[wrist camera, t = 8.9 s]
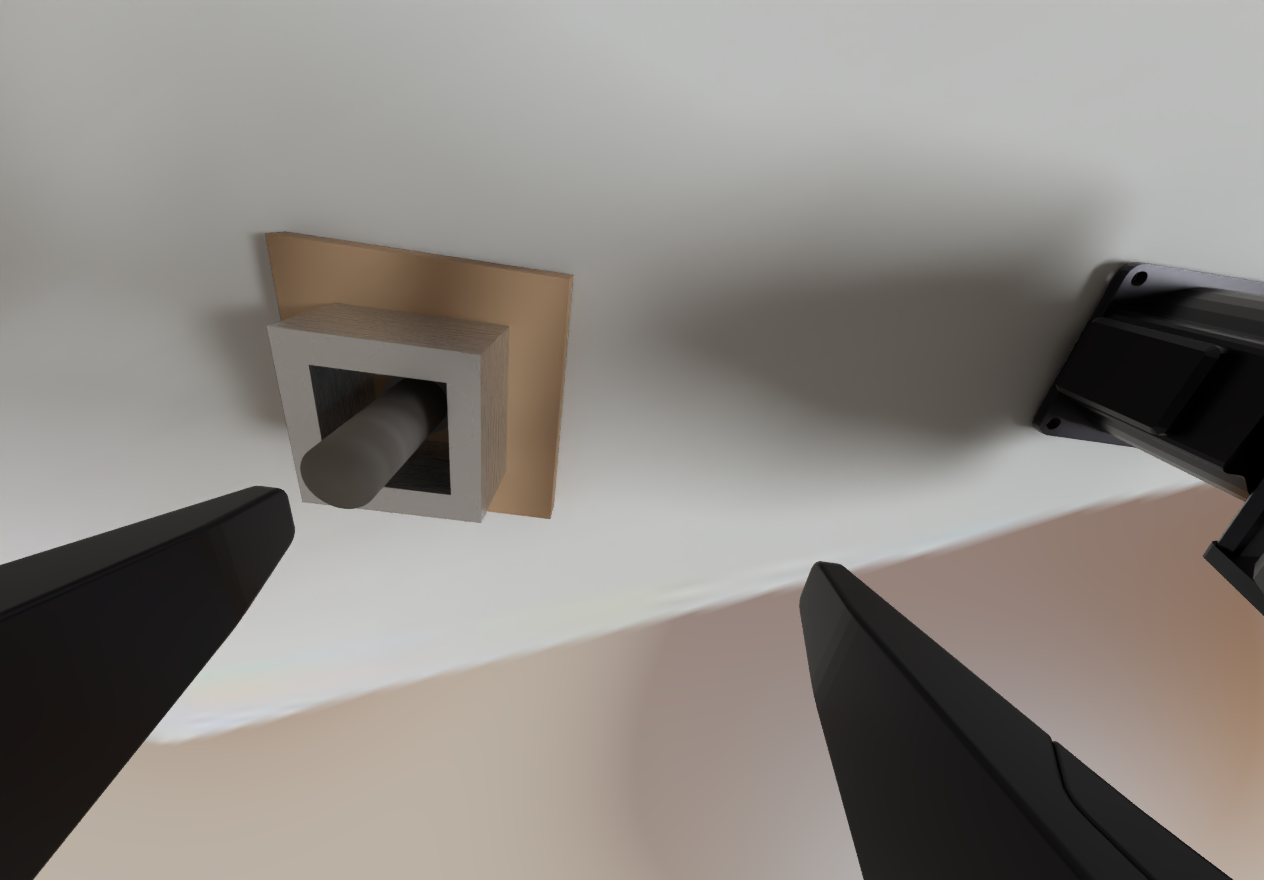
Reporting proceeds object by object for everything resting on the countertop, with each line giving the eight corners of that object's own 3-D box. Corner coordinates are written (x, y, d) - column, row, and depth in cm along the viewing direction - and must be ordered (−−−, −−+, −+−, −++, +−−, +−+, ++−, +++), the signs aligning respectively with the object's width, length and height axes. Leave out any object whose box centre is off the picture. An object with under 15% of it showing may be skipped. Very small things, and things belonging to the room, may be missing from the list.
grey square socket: (509, 326, 17) (480, 354, 14) (506, 471, 20) (481, 523, 17) (336, 302, 17) (266, 325, 14) (356, 453, 19) (302, 501, 16)
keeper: (573, 275, 17) (535, 318, 11) (553, 505, 22) (519, 631, 15) (285, 231, 17) (71, 251, 10) (326, 477, 21) (194, 594, 15)
